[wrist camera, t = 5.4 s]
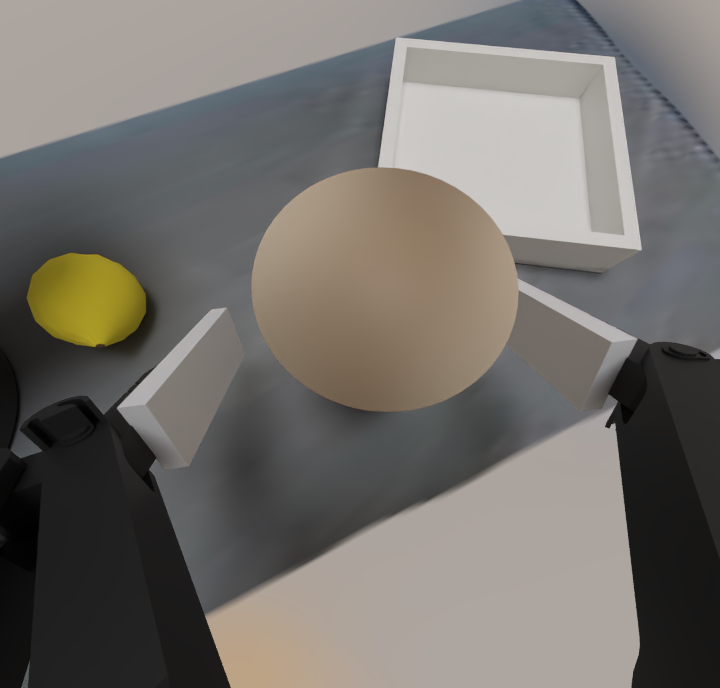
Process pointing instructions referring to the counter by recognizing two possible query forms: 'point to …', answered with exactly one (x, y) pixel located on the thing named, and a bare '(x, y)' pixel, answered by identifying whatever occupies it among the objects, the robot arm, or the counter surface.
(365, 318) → the dowel
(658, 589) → the robot arm
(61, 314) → the lemon
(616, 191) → the tray
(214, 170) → the counter surface
